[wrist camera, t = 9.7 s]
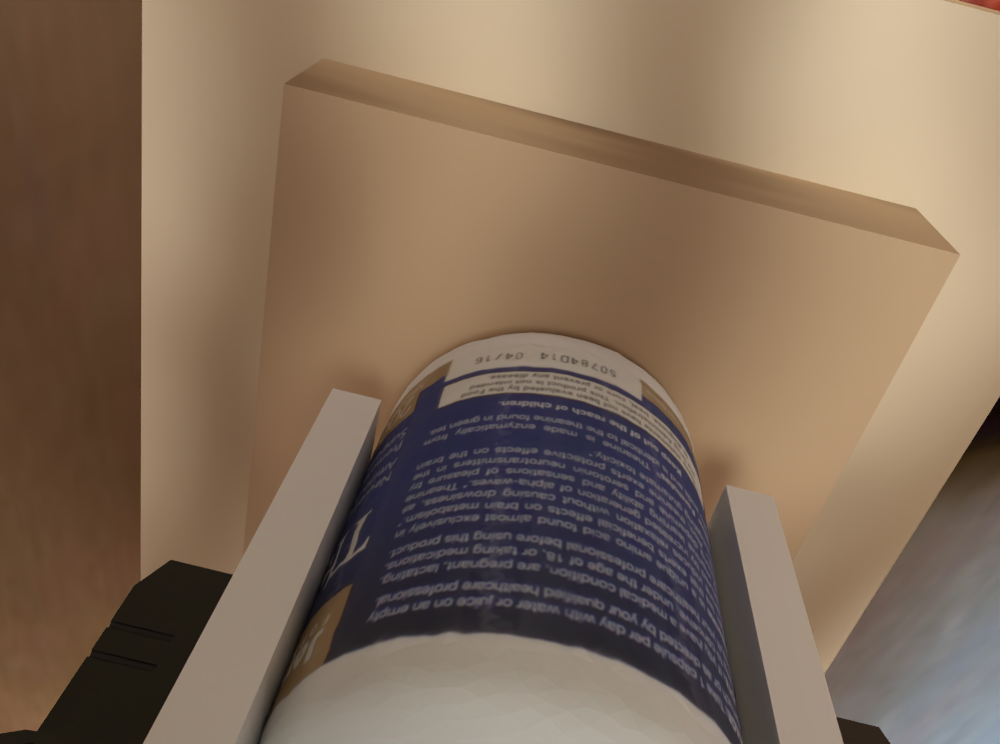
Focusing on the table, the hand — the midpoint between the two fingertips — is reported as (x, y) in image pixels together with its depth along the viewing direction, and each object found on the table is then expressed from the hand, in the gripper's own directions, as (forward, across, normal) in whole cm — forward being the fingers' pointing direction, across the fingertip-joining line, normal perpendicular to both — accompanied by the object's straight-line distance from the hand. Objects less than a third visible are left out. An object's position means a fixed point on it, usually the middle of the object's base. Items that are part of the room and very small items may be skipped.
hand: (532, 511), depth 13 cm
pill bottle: (+2, 0, 0) cm, 2 cm away
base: (+6, 0, 0) cm, 6 cm away
